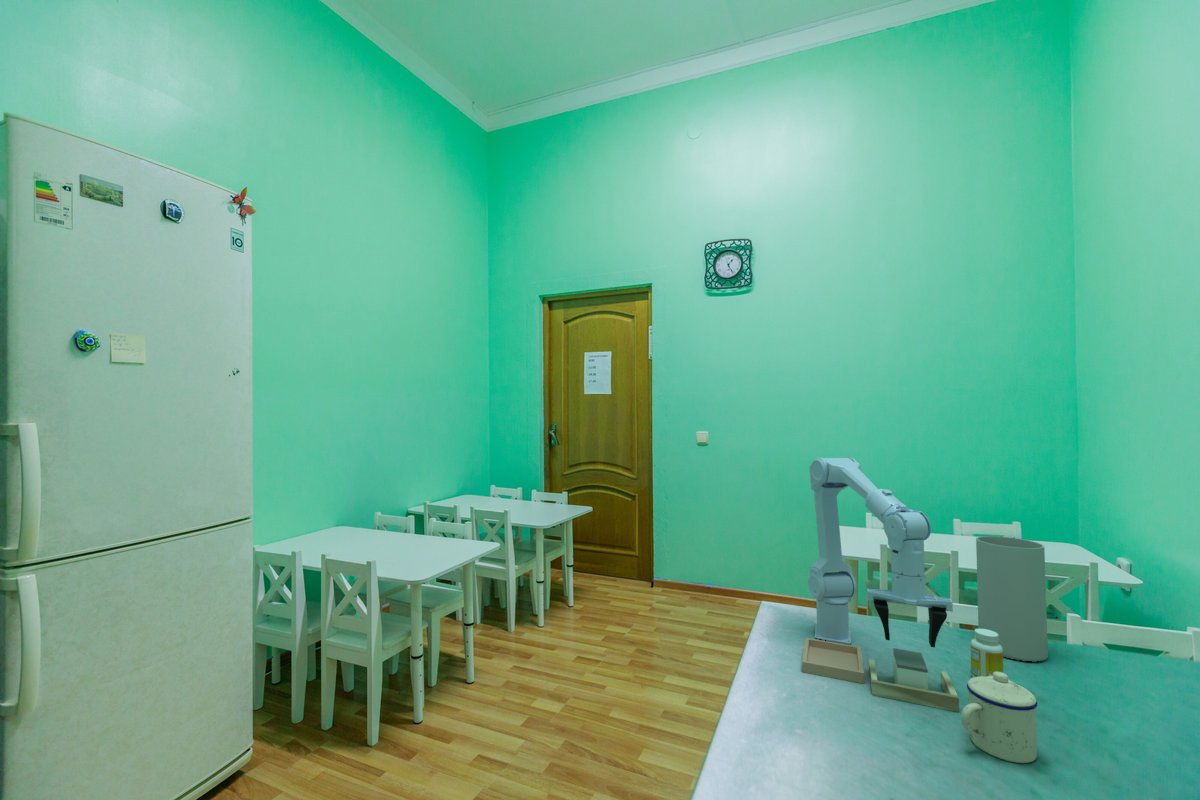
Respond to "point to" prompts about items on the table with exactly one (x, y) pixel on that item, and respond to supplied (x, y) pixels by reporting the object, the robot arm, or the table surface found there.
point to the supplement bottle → (986, 653)
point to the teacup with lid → (1001, 718)
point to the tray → (833, 660)
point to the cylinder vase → (1013, 595)
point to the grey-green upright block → (909, 669)
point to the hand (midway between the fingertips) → (909, 641)
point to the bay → (916, 692)
